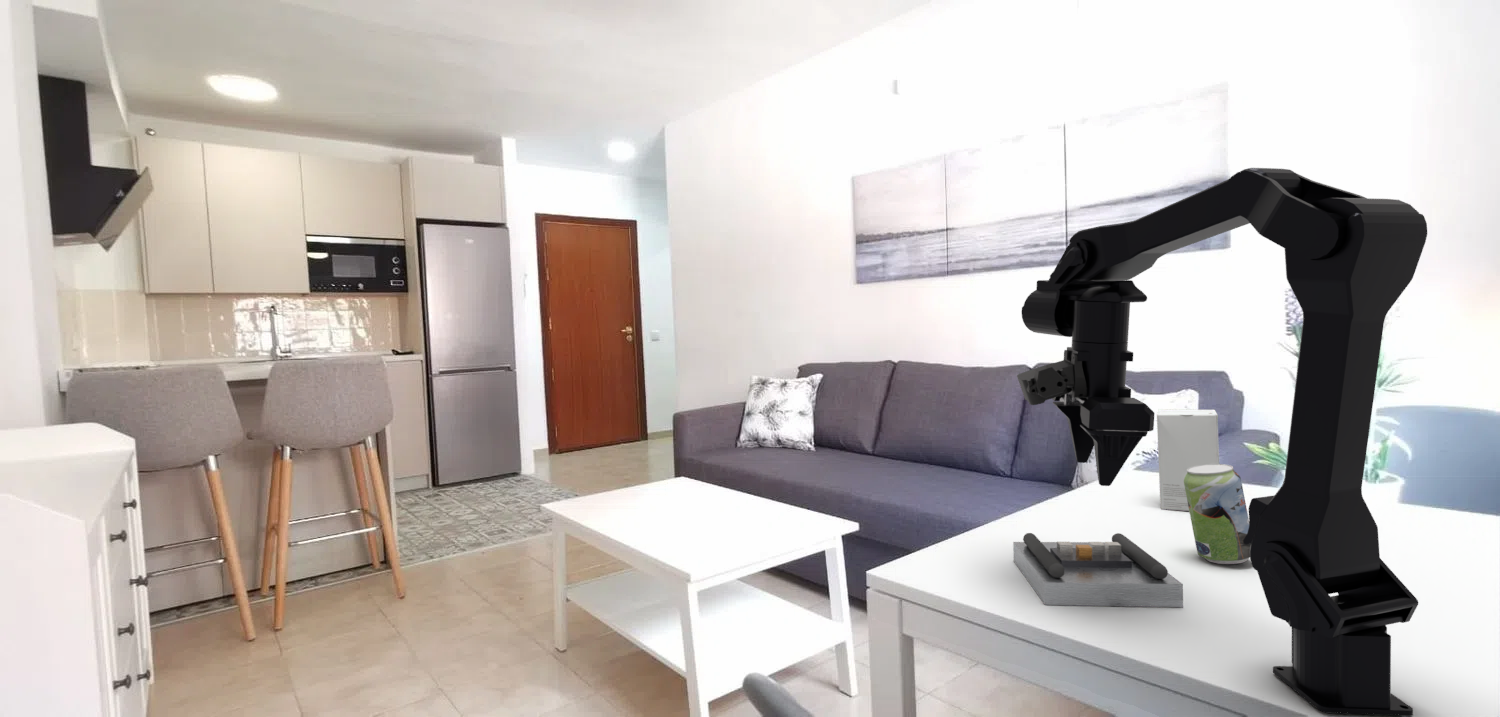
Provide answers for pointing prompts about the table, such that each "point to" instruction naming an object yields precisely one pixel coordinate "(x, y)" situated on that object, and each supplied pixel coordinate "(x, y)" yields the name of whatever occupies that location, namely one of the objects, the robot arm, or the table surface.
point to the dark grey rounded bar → (1044, 555)
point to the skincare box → (1183, 450)
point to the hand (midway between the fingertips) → (1092, 473)
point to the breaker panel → (1096, 577)
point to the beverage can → (1218, 513)
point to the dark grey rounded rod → (1141, 557)
